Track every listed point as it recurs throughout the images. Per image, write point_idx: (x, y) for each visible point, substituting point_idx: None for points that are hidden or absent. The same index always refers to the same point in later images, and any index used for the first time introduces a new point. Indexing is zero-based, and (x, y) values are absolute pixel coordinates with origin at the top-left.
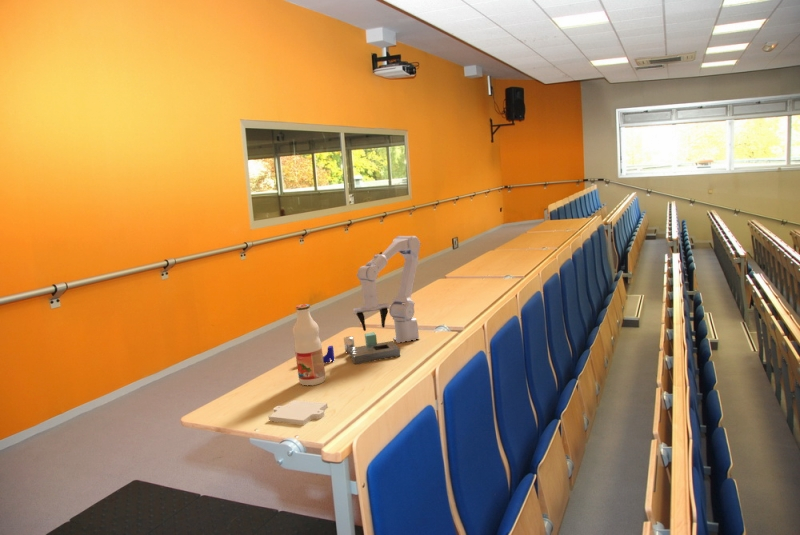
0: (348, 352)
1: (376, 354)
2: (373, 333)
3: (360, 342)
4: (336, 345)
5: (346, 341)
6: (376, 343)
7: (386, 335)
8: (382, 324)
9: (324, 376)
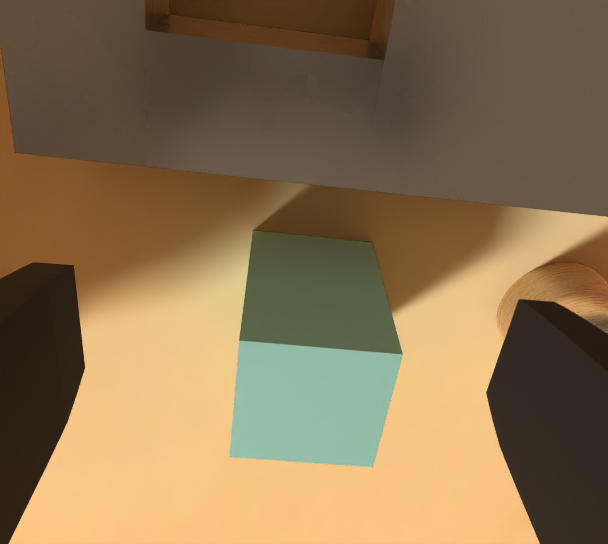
0: (602, 277)
1: None
2: (256, 413)
3: (338, 501)
4: None
5: None
6: (256, 265)
7: (65, 541)
8: (44, 328)
9: None
